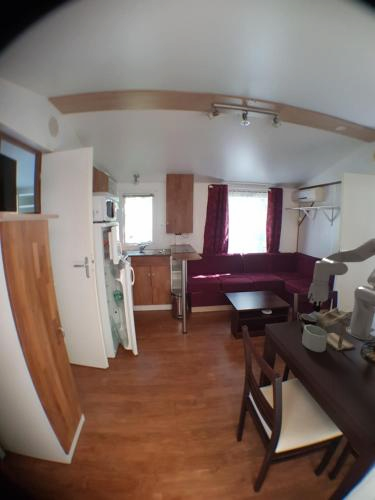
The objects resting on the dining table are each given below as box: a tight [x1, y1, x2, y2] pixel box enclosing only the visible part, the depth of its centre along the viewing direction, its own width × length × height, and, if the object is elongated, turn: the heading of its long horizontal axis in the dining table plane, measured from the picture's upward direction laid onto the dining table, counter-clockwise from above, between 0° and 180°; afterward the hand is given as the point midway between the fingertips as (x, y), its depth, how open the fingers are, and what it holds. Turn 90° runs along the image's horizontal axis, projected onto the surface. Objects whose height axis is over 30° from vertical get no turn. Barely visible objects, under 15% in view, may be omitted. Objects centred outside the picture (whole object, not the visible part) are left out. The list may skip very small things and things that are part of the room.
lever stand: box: [321, 310, 355, 351], centre depth 108 cm, size 12×13×17 cm
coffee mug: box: [297, 313, 318, 333], centre depth 120 cm, size 12×9×10 cm
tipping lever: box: [307, 307, 352, 328], centre depth 109 cm, size 17×14×6 cm
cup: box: [301, 325, 328, 353], centre depth 106 cm, size 11×11×10 cm
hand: (316, 311), depth 111 cm, fingers closed
